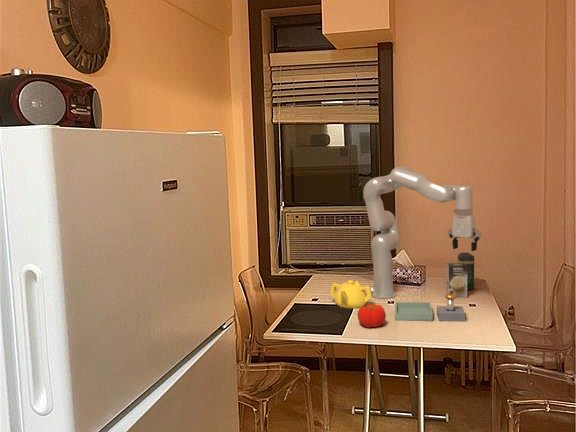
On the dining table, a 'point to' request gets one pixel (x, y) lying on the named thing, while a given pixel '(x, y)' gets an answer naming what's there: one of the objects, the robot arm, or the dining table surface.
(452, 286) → the coffee box
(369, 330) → the dining table surface
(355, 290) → the teapot
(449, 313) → the grey square hole block
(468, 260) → the coffee jar
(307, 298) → the dining table surface
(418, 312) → the tray
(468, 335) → the dining table surface
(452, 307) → the orange knob peg
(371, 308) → the tomato
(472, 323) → the dining table surface
